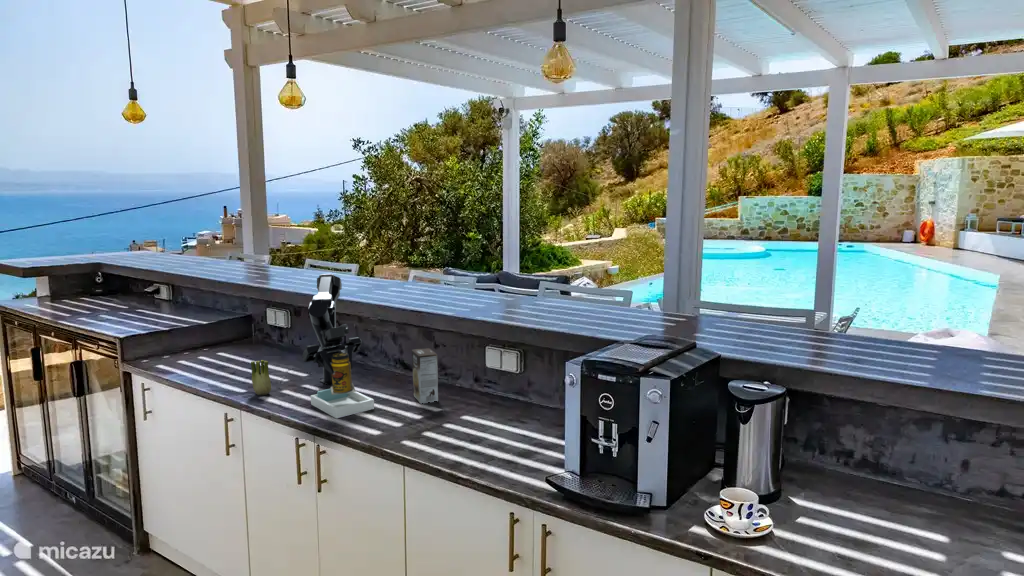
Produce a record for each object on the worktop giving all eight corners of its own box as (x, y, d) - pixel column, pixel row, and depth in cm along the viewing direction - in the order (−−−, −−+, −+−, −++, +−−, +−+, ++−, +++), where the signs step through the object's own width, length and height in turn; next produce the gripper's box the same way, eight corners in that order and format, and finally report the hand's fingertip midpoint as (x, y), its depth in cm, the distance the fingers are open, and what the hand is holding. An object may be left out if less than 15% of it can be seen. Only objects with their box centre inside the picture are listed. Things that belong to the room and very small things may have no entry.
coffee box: (412, 396, 218) (410, 349, 216) (431, 393, 220) (429, 347, 218) (419, 404, 210) (418, 355, 207) (439, 401, 212) (437, 353, 210)
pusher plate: (317, 402, 210) (317, 391, 210) (346, 395, 217) (345, 385, 216) (319, 403, 210) (318, 392, 209) (347, 396, 216) (347, 385, 215)
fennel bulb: (251, 395, 222) (248, 361, 220) (262, 391, 226) (260, 357, 224) (263, 397, 219) (260, 362, 217) (274, 393, 223) (272, 359, 221)
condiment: (331, 395, 203) (329, 358, 201) (330, 387, 211) (328, 351, 209) (355, 392, 205) (353, 356, 203) (353, 384, 213) (351, 349, 211)
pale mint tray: (309, 403, 212) (309, 394, 211) (346, 395, 220) (345, 386, 220) (336, 418, 197) (335, 408, 197) (374, 408, 206) (373, 399, 205)
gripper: (303, 321, 201) (321, 362, 195) (358, 312, 213) (376, 351, 207) (295, 341, 208) (311, 382, 202) (348, 332, 220) (365, 370, 214)
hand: (342, 371), depth 206 cm, fingers closed on condiment, 6 cm apart
